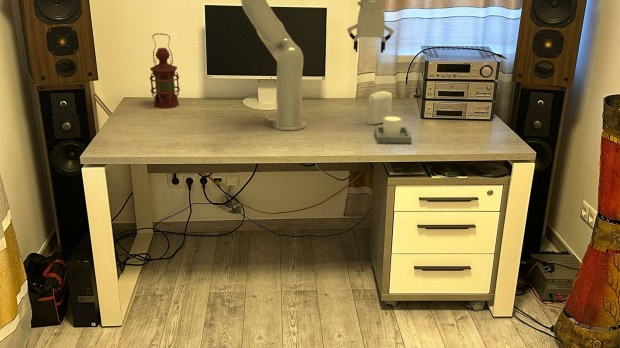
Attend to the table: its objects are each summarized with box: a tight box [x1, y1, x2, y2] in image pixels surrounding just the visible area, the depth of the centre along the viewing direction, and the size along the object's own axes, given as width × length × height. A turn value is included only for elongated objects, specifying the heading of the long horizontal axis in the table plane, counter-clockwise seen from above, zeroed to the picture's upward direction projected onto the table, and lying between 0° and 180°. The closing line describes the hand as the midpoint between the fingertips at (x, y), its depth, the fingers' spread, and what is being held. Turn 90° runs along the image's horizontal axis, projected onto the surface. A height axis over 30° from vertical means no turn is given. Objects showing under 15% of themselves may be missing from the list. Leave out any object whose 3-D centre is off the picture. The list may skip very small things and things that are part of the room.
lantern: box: [149, 33, 181, 109], centre depth 264 cm, size 12×12×30 cm
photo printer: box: [366, 90, 393, 126], centre depth 248 cm, size 10×4×12 cm, turn 123°
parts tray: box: [374, 126, 413, 145], centre depth 232 cm, size 12×12×2 cm
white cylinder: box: [382, 115, 403, 136], centre depth 230 cm, size 7×7×7 cm
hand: (368, 51), depth 240 cm, fingers open, 9 cm apart
